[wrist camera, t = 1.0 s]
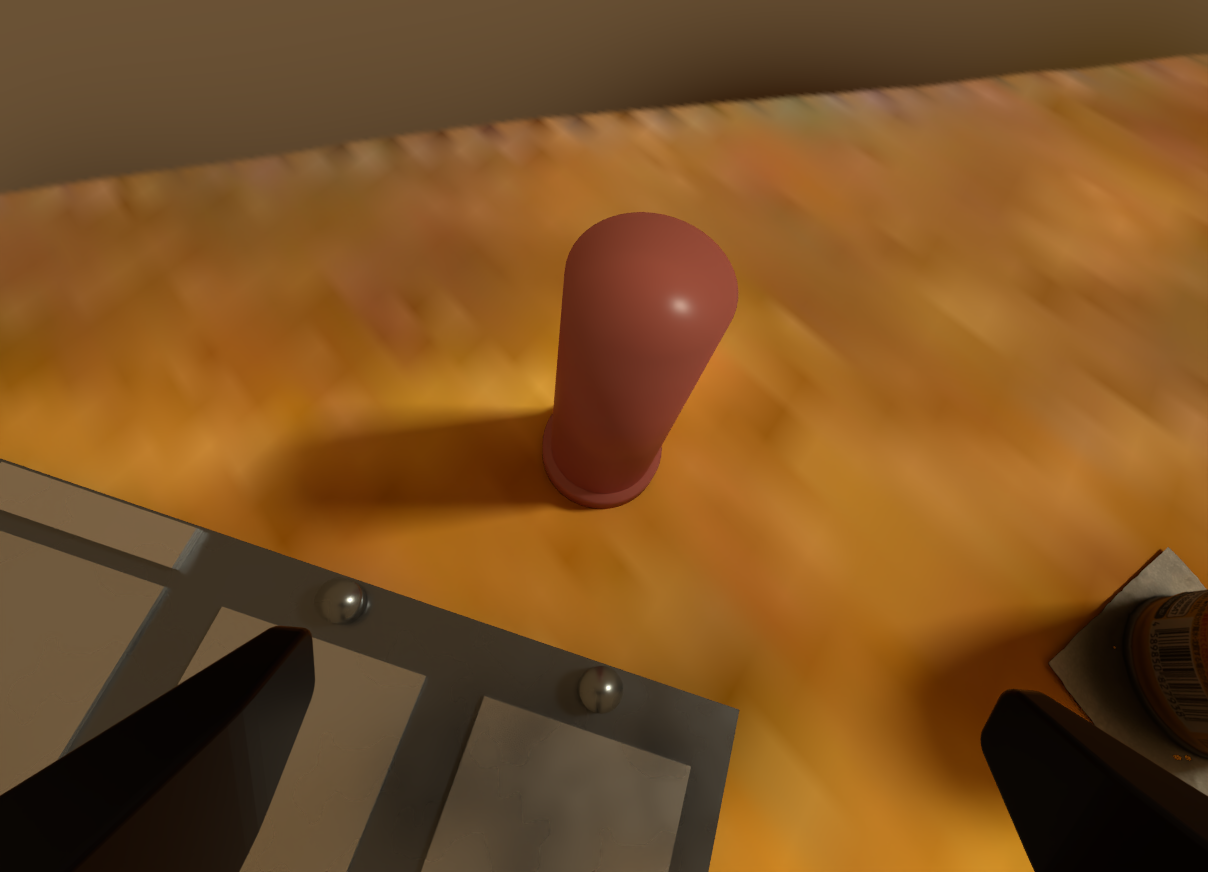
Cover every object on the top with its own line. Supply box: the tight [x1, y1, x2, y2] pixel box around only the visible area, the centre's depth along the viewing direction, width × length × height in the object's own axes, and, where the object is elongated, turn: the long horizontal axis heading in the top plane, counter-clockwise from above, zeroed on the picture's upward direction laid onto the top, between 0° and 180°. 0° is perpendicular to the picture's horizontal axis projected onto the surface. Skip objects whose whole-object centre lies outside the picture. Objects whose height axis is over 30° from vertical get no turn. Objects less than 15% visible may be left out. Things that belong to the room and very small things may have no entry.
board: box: [0, 459, 739, 872], centre depth 18 cm, size 10×28×1 cm, turn 73°
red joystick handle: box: [542, 212, 738, 509], centre depth 18 cm, size 5×5×11 cm
